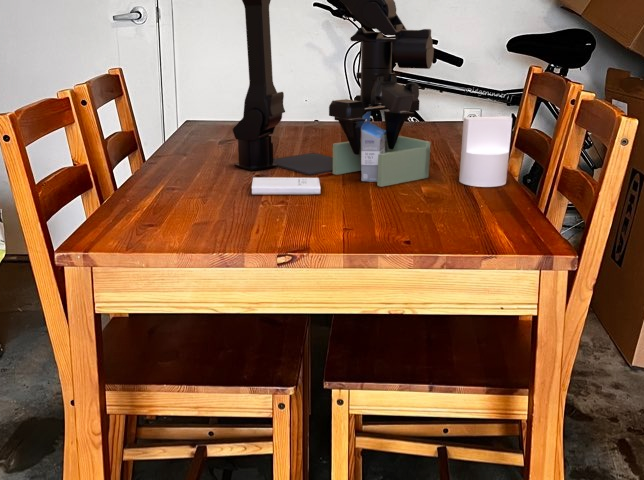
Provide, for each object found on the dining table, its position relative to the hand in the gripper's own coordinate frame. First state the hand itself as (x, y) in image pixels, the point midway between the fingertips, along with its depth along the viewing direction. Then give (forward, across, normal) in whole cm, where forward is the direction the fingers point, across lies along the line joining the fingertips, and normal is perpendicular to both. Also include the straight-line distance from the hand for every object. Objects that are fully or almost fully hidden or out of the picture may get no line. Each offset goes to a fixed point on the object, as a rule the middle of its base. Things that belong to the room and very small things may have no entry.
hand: (374, 151), depth 159 cm
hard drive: (+5, -20, +2) cm, 21 cm away
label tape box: (+5, 0, 0) cm, 5 cm away
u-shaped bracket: (+5, +2, 0) cm, 5 cm away
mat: (+5, -2, +17) cm, 18 cm away
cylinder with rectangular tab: (+5, +14, -16) cm, 22 cm away
